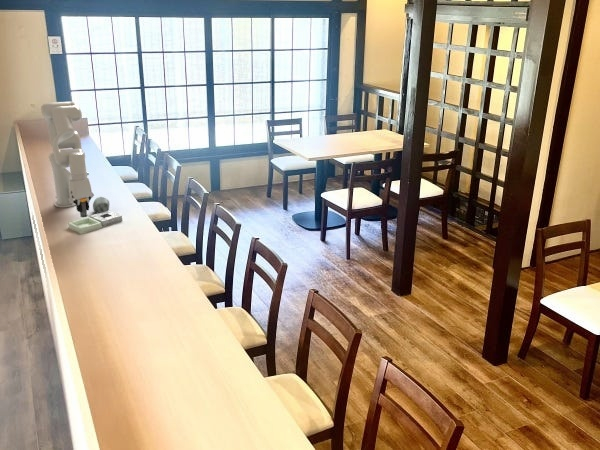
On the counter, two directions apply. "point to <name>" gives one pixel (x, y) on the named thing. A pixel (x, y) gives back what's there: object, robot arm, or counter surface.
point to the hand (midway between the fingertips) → (83, 210)
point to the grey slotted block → (107, 217)
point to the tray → (84, 225)
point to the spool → (101, 205)
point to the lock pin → (83, 207)
